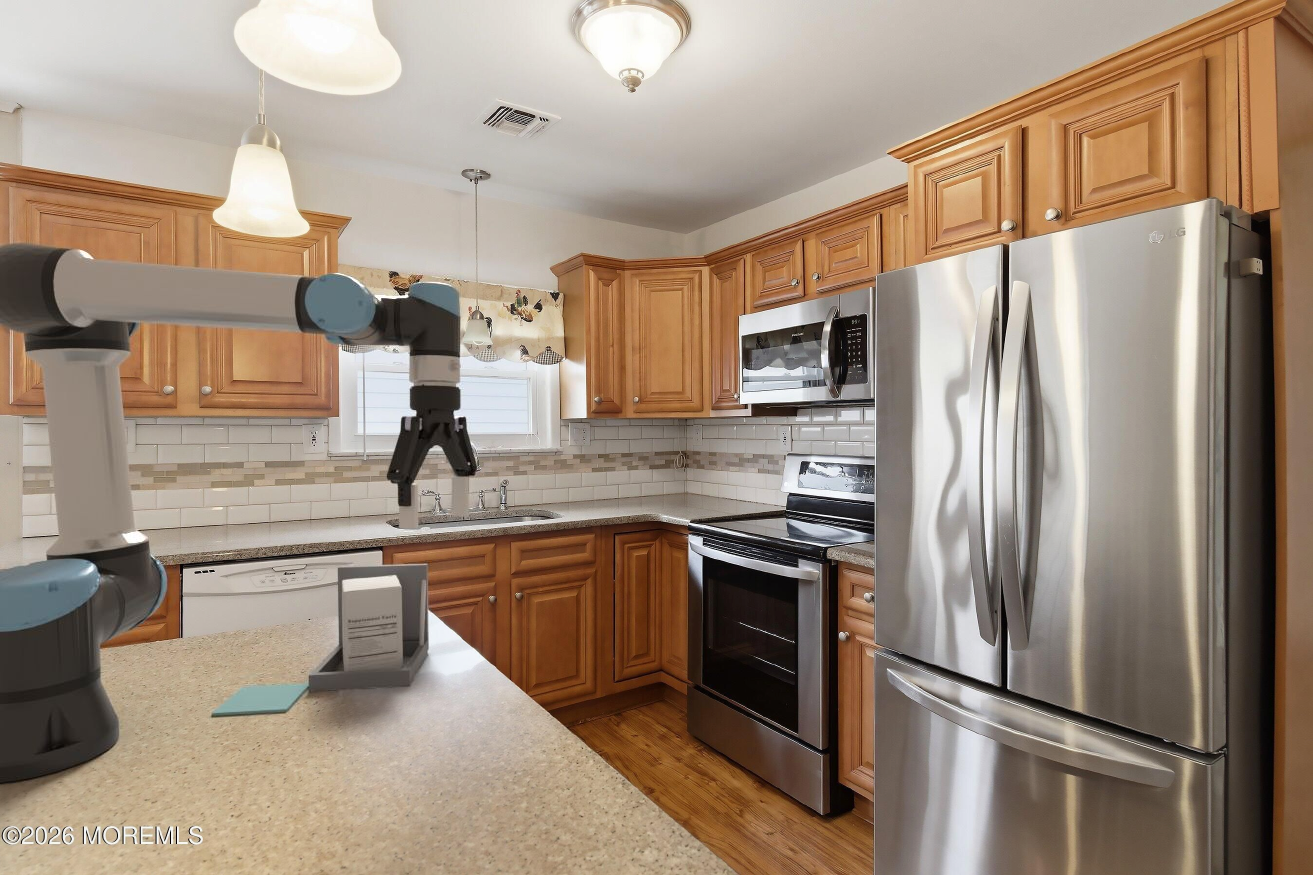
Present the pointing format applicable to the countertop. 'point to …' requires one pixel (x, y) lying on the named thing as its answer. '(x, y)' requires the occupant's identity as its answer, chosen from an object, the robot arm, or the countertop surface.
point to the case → (412, 632)
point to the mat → (262, 699)
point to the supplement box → (372, 623)
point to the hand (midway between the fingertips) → (436, 522)
